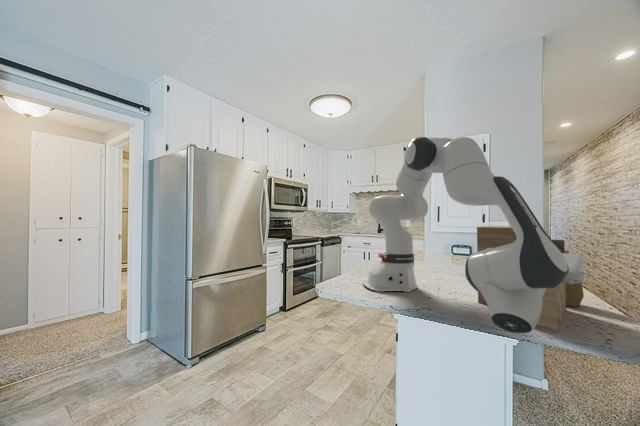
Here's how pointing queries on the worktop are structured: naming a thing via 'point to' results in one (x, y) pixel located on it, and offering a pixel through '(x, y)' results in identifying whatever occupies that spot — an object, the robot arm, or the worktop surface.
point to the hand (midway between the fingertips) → (532, 245)
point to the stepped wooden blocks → (553, 296)
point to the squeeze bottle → (573, 293)
